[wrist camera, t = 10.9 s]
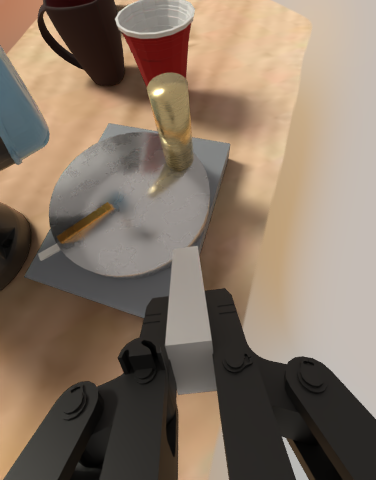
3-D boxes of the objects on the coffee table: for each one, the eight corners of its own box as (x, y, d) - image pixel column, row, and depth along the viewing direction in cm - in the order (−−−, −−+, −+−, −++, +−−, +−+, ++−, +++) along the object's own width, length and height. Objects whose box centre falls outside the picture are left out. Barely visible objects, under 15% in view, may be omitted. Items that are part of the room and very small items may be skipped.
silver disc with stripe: (63, 298, 24) (-50, 285, 13) (60, 164, 31) (-17, 85, 20) (229, 254, 24) (248, 207, 13) (188, 131, 31) (179, 35, 20)
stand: (178, 327, 25) (174, 329, 22) (41, 280, 28) (21, 276, 25) (228, 158, 33) (230, 142, 30) (116, 138, 36) (108, 121, 33)
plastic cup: (205, 82, 39) (204, -11, 28) (188, 124, 36) (180, 37, 25) (152, 75, 41) (132, -14, 30) (132, 115, 38) (101, 31, 27)
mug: (129, 92, 40) (100, 5, 29) (63, 95, 41) (10, 13, 30) (137, 59, 43) (113, -30, 32) (75, 62, 45) (31, -22, 34)
